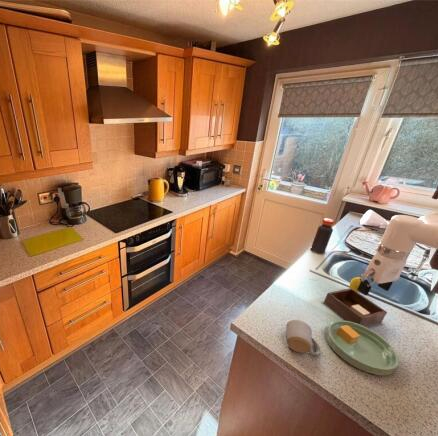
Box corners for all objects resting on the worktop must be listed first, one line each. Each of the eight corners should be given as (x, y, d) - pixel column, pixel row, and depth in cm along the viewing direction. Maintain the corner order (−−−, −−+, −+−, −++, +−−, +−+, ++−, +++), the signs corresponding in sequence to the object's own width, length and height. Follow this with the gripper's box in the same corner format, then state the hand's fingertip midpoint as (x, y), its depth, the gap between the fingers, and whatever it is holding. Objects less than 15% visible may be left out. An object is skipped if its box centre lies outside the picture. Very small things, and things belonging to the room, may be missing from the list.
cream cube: (354, 310, 94) (358, 304, 93) (366, 319, 90) (370, 313, 89) (348, 312, 93) (351, 305, 92) (359, 321, 89) (363, 314, 88)
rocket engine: (405, 217, 156) (373, 207, 162) (400, 231, 153) (368, 220, 160) (392, 224, 166) (363, 213, 173) (388, 237, 163) (358, 226, 170)
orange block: (343, 331, 85) (347, 324, 84) (356, 342, 81) (360, 335, 80) (336, 333, 85) (339, 326, 83) (349, 344, 81) (352, 337, 79)
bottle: (325, 254, 132) (338, 223, 124) (312, 252, 134) (323, 221, 126) (322, 248, 138) (334, 218, 129) (309, 246, 140) (319, 217, 132)
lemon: (364, 292, 104) (371, 278, 101) (359, 297, 102) (367, 283, 98) (349, 286, 109) (355, 272, 105) (344, 290, 106) (351, 276, 102)
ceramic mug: (283, 348, 80) (290, 333, 76) (283, 330, 86) (289, 316, 83) (320, 363, 75) (328, 348, 72) (317, 343, 82) (325, 328, 79)
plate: (351, 322, 90) (354, 316, 88) (408, 368, 74) (414, 361, 72) (313, 332, 86) (316, 325, 84) (365, 383, 70) (370, 375, 68)
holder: (346, 298, 102) (351, 287, 99) (380, 323, 90) (387, 312, 87) (323, 303, 99) (327, 292, 96) (355, 329, 87) (362, 318, 84)
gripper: (385, 260, 72) (364, 302, 79) (425, 253, 76) (402, 293, 83) (360, 248, 79) (343, 287, 86) (398, 242, 82) (379, 280, 90)
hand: (372, 290), depth 85 cm, fingers open, 9 cm apart
